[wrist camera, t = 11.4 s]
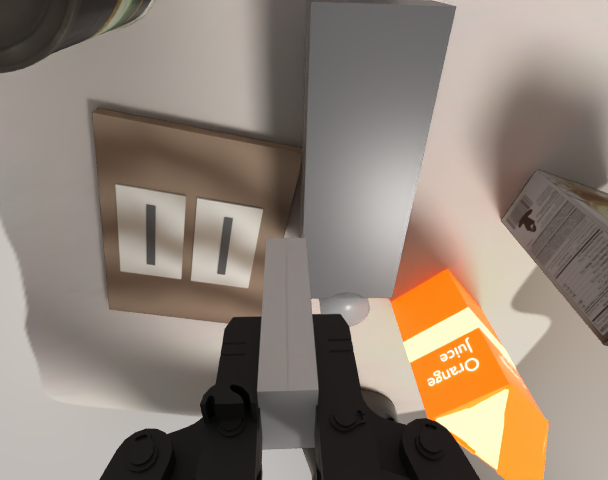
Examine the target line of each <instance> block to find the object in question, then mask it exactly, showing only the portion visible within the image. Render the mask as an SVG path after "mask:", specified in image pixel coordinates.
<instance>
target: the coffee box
mask: <svg viewBox="0 0 608 480" xmlns="http://www.w3.org/2000/svg"><path fill="white" fill-rule="evenodd" d="M501 222H502V223H503V224H504V225H505V227H506V228H507V229H508V230H509V231H510V233H511V234H512V235H513V236H514V237H515V239H516V240H517V241H518V242H519V244H520V245H521V246H522V247H523V248H524V249H525V251H526V252H527V253H528V254H529V255H530V257H531V258H532V259H533V260H534V262H535V263H536V264H537V265H538V266H539V267H540V269H541V270H542V271H543V272H544V274H545V275H546V276H547V277H548V278H549V280H550V281H551V282H552V283H553V284H554V286H555V287H556V288H557V289H558V290H559V292H560V293H561V294H562V295H563V296H564V297H565V299H566V300H567V301H568V302H569V303H570V305H571V306H572V307H573V309H574V310H575V311H576V312H577V313H578V314H579V316H580V317H581V318H582V319H583V321H584V322H585V323H586V324H587V325H588V326H589V328H590V329H591V330H592V331H593V333H594V334H595V335H596V336H597V337H598V339H599V340H600V341H601V342H602V344H603V345H606V346H608V193H605V192H602V191H599V190H597V189H594V188H591V187H588V186H585V185H582V184H579V183H576V182H573V181H570V180H567V179H564V178H561V177H558V176H555V175H552V174H549V173H546V172H543V171H540V170H537V171H536V172H535V173H534V174H533V176H532V177H531V179H530V180H529V181H528V183H527V184H526V186H525V187H524V189H523V190H522V191H521V193H520V194H519V196H518V197H517V199H516V200H515V201H514V203H513V204H512V206H511V207H510V209H509V210H508V212H507V213H506V214H505V216H504V217H503V219H502V220H501Z"/></svg>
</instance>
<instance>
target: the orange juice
mask: <svg viewBox="0 0 608 480" xmlns="http://www.w3.org/2000/svg"><path fill="white" fill-rule="evenodd" d="M391 304H392V307H393V310H394V314H395V317H396V320H397V323H398V326H399V329H400V332H401V335H402V339H403V343H404V346H405V350H406V353H407V356H408V359H409V362H410V364H411V367H412V370H413V373H414V376H415V379H416V382H417V386H418V389H419V392H420V395H421V398H422V401H423V404H424V408H425V411H426V414H427V417H428V419H430V420H434V421H437V422H438V423H440V424H441V425H443V426H444V427H446V428H447V429H448V430H449V432H450V433H451V434H452V435H453V436H454V438H455V439H456V441H457V442H458V443H459V444H460V445H462V446H463V447H464V448H465V449H467V450H468V451H470V452H471V453H472V454H475V455H476V456H478V457H479V458H480V459H482V460H483V461H484V462H486V463H487V464H488V465H490V466H491V467H492V468H494V469H495V470H496V471H497V473H498V474H499V475H501V476H502V477H503V478H504V479H506V480H543V476H544V465H545V455H546V445H547V434H548V424H549V422H548V421H547V420H546V419H545V418H544V417H543V415H542V414H541V412H540V410H539V408H538V406H537V405H536V403H535V402H534V399H533V398H532V396H531V394H530V393H529V391H528V389H527V387H526V386H525V384H524V382H523V380H522V379H521V377H520V375H519V373H518V372H517V370H516V367H515V366H514V364H513V362H512V360H511V359H510V357H509V355H508V354H507V352H506V350H505V349H504V347H503V346H502V344H501V342H500V340H499V339H498V337H497V335H496V333H495V332H494V330H493V328H492V327H491V325H490V323H489V321H488V320H487V318H486V316H485V314H484V313H483V311H482V309H481V308H480V307H479V306H478V304H477V303H476V302H475V301H474V300H473V299H472V297H471V296H470V295H469V294H468V293H467V291H466V290H465V289H464V288H463V287H462V286H461V284H460V283H459V282H458V281H457V280H456V279H455V277H454V276H453V275H452V274H451V273H450V271H449V270H448V269H446V270H444V271H442V272H441V273H439V274H437V275H435V276H434V277H432V278H430V279H429V280H427V281H425V282H424V283H422V284H420V285H419V286H417V287H415V288H414V289H412V290H410V291H409V292H407V293H405V294H403V295H402V296H400V297H398V298H397V299H395V300H393V301H392V302H391Z"/></svg>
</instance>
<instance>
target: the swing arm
mask: <svg viewBox="0 0 608 480" xmlns="http://www.w3.org/2000/svg"><path fill="white" fill-rule="evenodd" d="M455 10H456V6H452V5H448V4H444V3H440V2H436V1H432V0H307V19H306V53H305V87H304V121H303V155H302V189H301V224H300V238H306V248H307V259H308V271H309V283H310V295H311V299H312V298H319V301H320V311H321V314H341V315H342V317H343V318H344V319H345V321H346V322H347V324H348V325H349V327H350V326H353V325H356V324H358V323H360V322H361V321H363V320H364V319H365V318H366V317H367V315H368V313H369V310H370V306H369V302H368V298H392V295H393V291H394V286H395V282H396V277H397V273H398V268H399V264H400V259H401V255H402V250H403V246H404V241H405V236H406V232H407V227H408V223H409V218H410V214H411V209H412V205H413V200H414V196H415V191H416V187H417V182H418V178H419V173H420V168H421V164H422V159H423V155H424V150H425V146H426V141H427V137H428V132H429V128H430V123H431V119H432V114H433V109H434V105H435V100H436V96H437V91H438V87H439V82H440V78H441V73H442V69H443V64H444V60H445V55H446V50H447V46H448V41H449V37H450V32H451V28H452V23H453V19H454V14H455Z"/></svg>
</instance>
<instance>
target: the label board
mask: <svg viewBox="0 0 608 480" xmlns="http://www.w3.org/2000/svg"><path fill="white" fill-rule="evenodd" d="M92 116H93V128H94V139H95V151H96V163H97V174H98V186H99V197H100V209H101V221H102V232H103V244H104V255H105V267H106V278H107V290H108V302H109V309H110V310H119V311H127V312H136V313H144V314H153V315H161V316H169V317H178V318H186V319H195V320H203V321H211V322H220V323H228V324H229V322H230V321H231V319H232V318H233V317H254V316H262V303H263V287H264V270H265V254H266V238H284V234H285V230H286V226H287V222H288V217H289V213H290V209H291V205H292V200H293V196H294V192H295V188H296V183H297V179H298V175H299V171H300V167H301V162H302V155H303V148H298V147H293V146H288V145H283V144H278V143H273V142H268V141H263V140H258V139H253V138H248V137H242V136H237V135H232V134H227V133H222V132H217V131H212V130H207V129H202V128H197V127H192V126H187V125H182V124H177V123H172V122H167V121H161V120H156V119H151V118H146V117H141V116H136V115H131V114H126V113H121V112H116V111H111V110H106V109H101V108H97V109H96V110H95V111H94V112H92Z"/></svg>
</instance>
